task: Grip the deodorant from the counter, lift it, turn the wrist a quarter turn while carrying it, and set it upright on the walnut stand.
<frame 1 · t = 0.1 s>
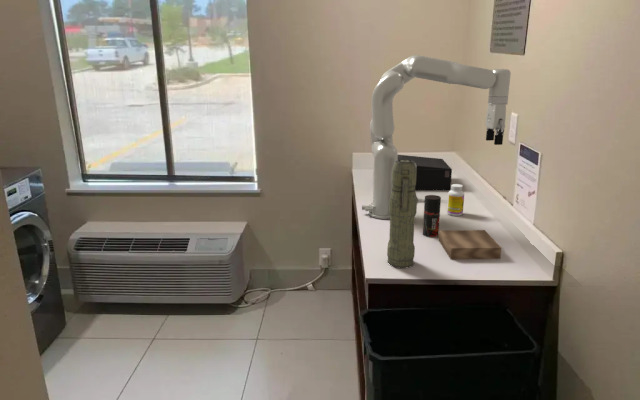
hand: (493, 142, 203), 31 cm above the worktop, tool pointing down, fingers open, 9 cm apart
headphone box: (412, 184, 260), on the worktop
deodorant: (430, 234, 189), on the worktop
supplement bottle: (454, 214, 212), on the worktop
thermos: (400, 263, 164), on the worktop
phone holder: (398, 200, 233), on the worktop
walnut stand: (467, 249, 175), on the worktop
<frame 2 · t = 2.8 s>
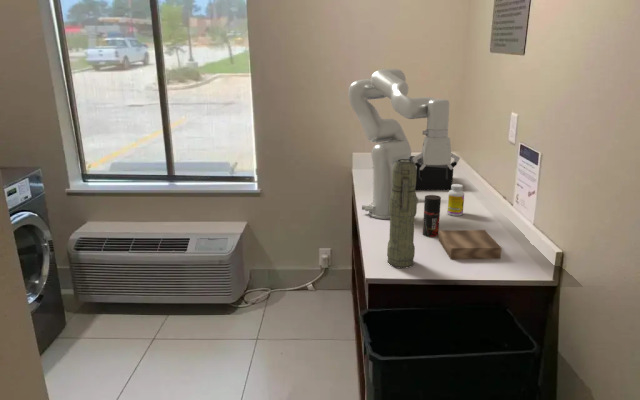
hand: (434, 179, 182), 22 cm above the worktop, tool pointing down, fingers open, 9 cm apart
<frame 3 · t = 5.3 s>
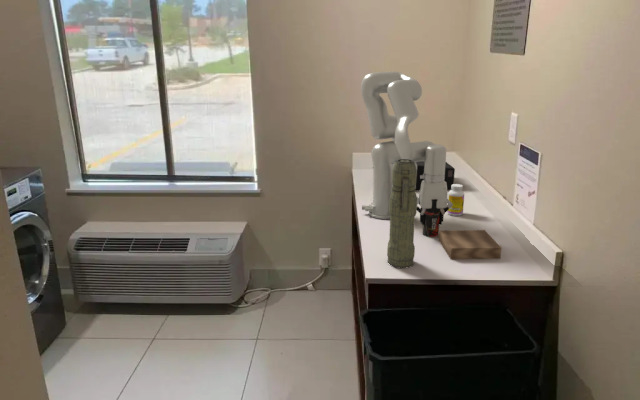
hand: (431, 223, 188), 5 cm above the worktop, tool pointing down, fingers closed on deodorant, 5 cm apart
deodorant: (430, 234, 189), on the worktop, touching gripper
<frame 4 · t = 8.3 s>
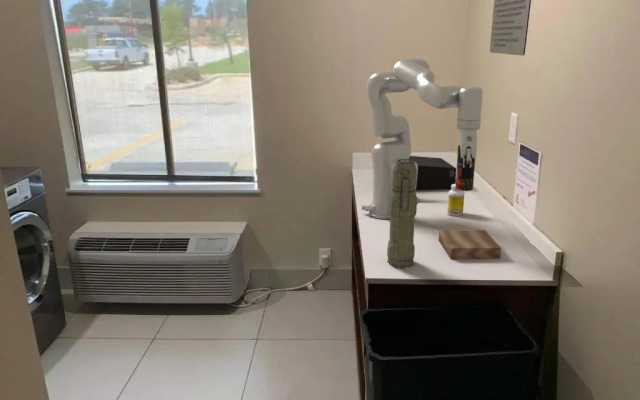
hand: (464, 175, 170), 26 cm above the worktop, tool pointing down, fingers closed on deodorant, 5 cm apart
deodorant: (464, 189, 171), point 21 cm above the worktop, touching gripper
when the fingers open (10 cm above the worktop, at t = 11.4 s): deodorant drops 1 cm, resting on walnut stand.
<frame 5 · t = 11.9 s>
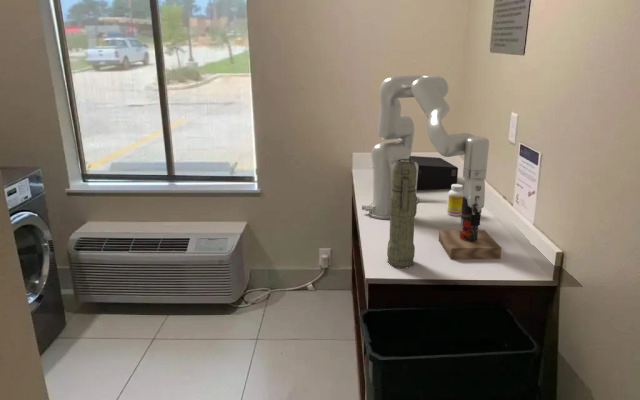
hand: (470, 220, 171), 11 cm above the worktop, tool pointing down, fingers open, 9 cm apart
deodorant: (468, 238, 174), point 4 cm above the worktop, touching walnut stand
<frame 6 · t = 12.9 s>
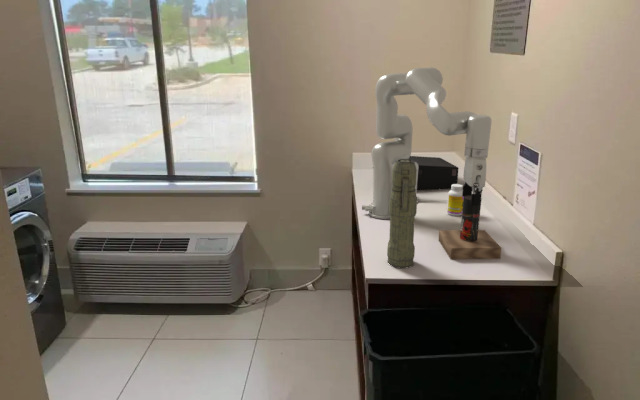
hand: (470, 200, 170), 18 cm above the worktop, tool pointing down, fingers open, 9 cm apart
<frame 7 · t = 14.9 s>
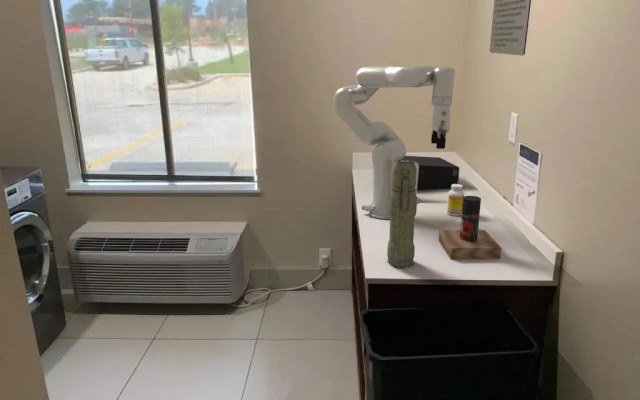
hand: (437, 145, 189), 33 cm above the worktop, tool pointing down, fingers open, 9 cm apart
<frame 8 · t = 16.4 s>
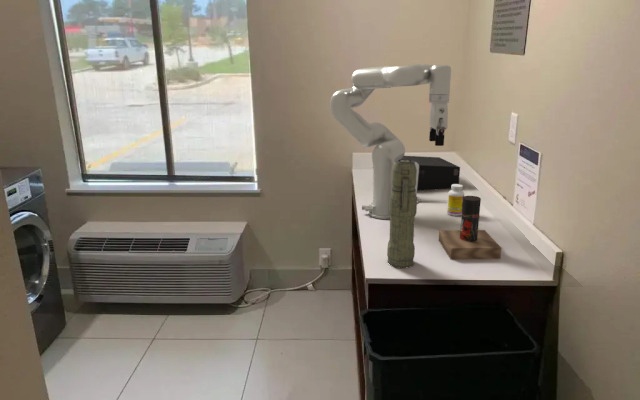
hand: (436, 143, 191), 33 cm above the worktop, tool pointing down, fingers open, 9 cm apart
at the end: deodorant inside the target area on the walnut stand (0.2 cm from its centre), point 3.8 cm above the walnut stand's base; deodorant tilted 0°; the gripper is holding nothing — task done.
